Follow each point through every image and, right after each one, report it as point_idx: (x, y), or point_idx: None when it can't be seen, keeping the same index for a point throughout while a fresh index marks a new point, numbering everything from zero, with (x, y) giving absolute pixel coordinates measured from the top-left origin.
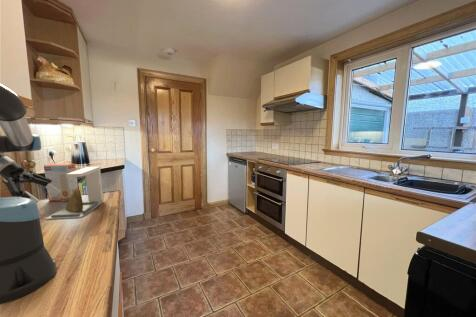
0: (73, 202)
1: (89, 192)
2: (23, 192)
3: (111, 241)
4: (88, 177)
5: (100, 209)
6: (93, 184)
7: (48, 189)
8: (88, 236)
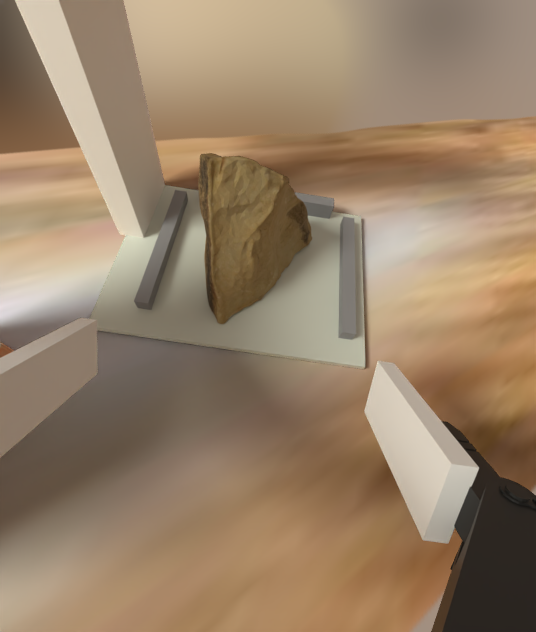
0: (278, 227)
1: (127, 170)
2: (477, 492)
3: (526, 118)
4: (78, 8)
5: None
6: (119, 80)
7: (23, 434)
8: (509, 163)
